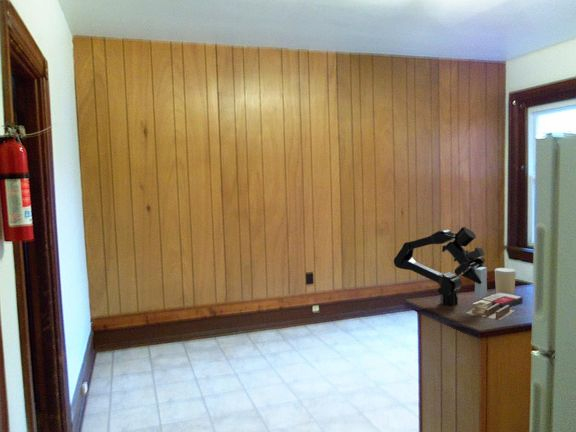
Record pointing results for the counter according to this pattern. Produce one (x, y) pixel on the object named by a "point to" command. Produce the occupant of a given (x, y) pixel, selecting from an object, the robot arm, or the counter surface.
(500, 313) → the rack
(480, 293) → the light blue brick
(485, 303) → the offcut stack
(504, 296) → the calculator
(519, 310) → the counter surface
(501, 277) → the coffee cup
